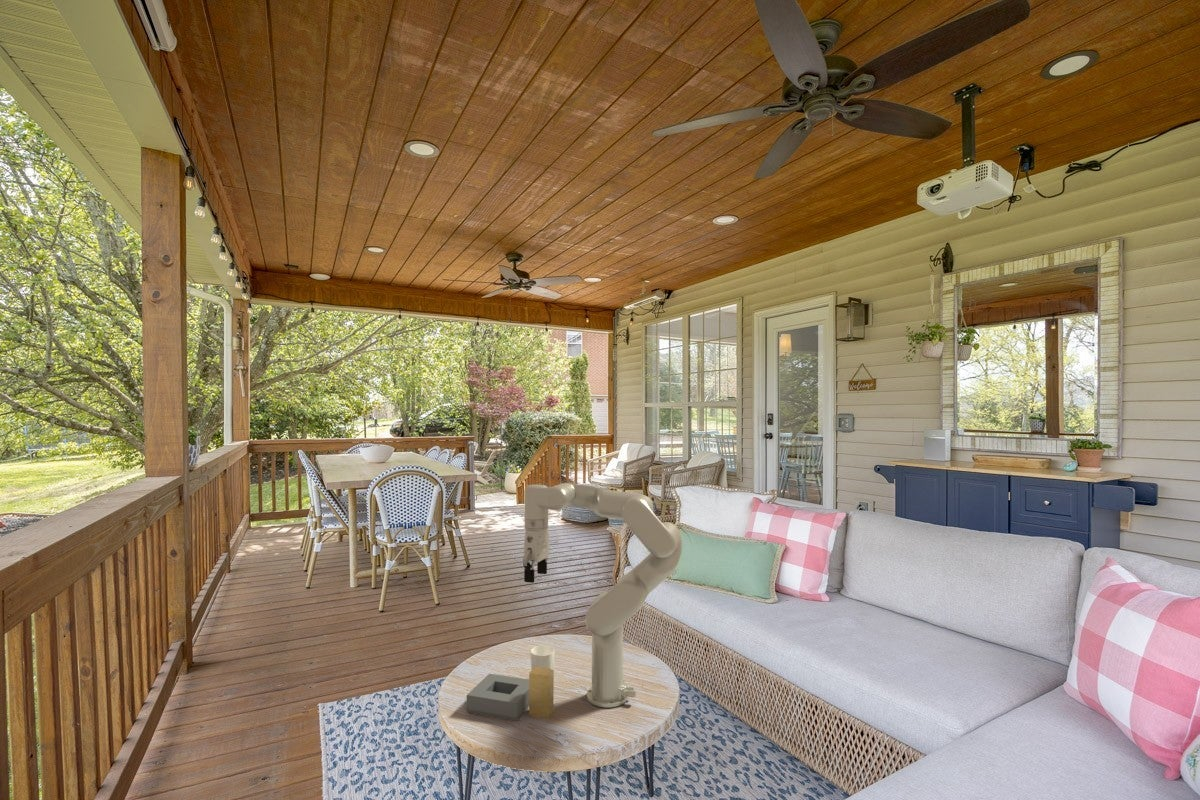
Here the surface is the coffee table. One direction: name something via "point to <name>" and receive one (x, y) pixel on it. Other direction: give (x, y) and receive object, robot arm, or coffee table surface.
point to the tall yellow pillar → (541, 692)
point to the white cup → (542, 657)
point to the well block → (499, 697)
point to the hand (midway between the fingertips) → (535, 577)
